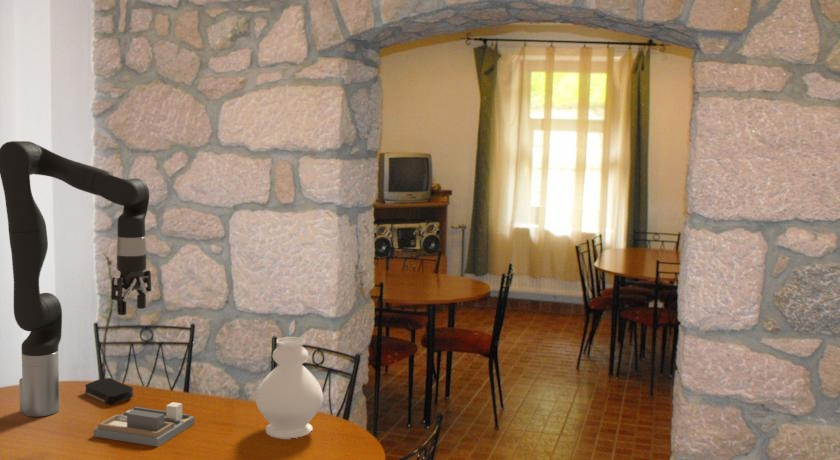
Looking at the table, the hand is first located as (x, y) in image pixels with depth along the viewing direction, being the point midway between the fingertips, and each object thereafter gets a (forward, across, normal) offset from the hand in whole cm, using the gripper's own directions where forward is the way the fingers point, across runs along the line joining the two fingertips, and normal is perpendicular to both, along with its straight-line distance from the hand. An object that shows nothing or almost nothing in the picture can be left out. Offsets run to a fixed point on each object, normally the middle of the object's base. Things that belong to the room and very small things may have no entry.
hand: (132, 311), depth 217 cm
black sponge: (+31, +12, +17) cm, 37 cm away
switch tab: (+28, -2, -14) cm, 31 cm away
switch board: (+30, -6, -8) cm, 32 cm away
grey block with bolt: (+28, -11, -9) cm, 31 cm away
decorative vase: (+30, +7, -44) cm, 54 cm away
